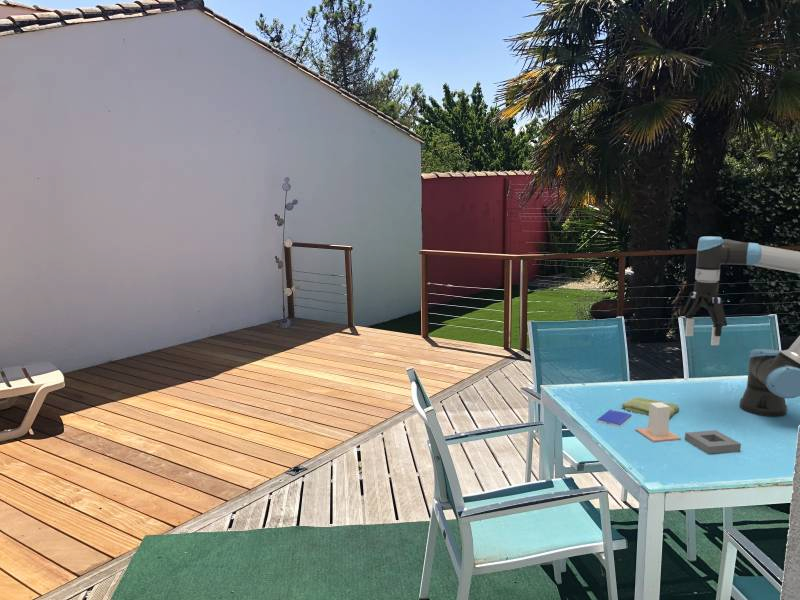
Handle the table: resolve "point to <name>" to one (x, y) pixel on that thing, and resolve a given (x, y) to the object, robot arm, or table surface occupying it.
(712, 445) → the gray square ring
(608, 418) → the hard drive
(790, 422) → the table surface
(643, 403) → the washcloth
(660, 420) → the plug
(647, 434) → the pad
